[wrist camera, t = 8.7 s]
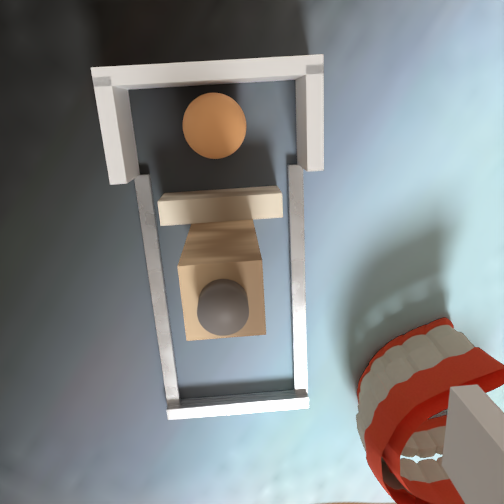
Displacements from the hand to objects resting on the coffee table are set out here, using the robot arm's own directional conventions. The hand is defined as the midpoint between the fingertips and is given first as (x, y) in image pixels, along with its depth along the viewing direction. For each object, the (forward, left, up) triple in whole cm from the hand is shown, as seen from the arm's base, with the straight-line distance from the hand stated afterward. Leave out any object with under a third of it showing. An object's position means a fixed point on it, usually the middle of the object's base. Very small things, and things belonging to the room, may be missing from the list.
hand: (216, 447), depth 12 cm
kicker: (0, 0, -20) cm, 20 cm away
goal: (0, +8, -20) cm, 22 cm away
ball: (0, +8, -18) cm, 20 cm away
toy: (+14, -15, -21) cm, 29 cm away
